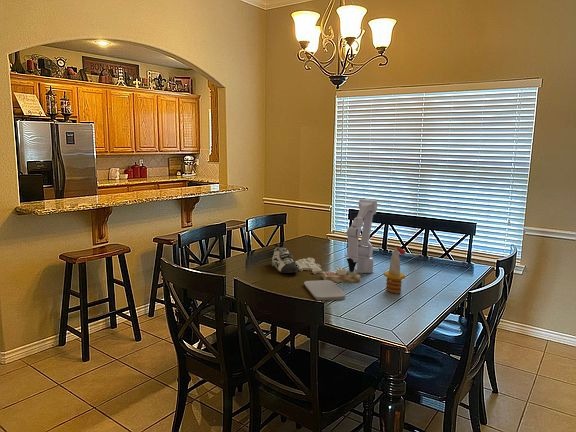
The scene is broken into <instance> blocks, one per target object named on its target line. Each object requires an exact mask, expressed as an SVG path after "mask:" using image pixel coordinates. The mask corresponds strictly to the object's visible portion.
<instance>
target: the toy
mask: <svg viewBox="0 0 576 432" xmlns="http://www.w3.org/2000/svg"><path fill="white" fill-rule="evenodd" d="M405 251H406V250H404V249H402V248H400V247H398V246H395V248H394V249H393V252H392V254H391V257H390V261H389V270H387V271H384V272H383V276H384V277H386V283H385V285H386V286H385V290H386V291H387V292H388V293H392V294H401V293H402V289H401V288H402V287H403V286H402V283H403V281H402V280H403V279H406V275H405V273H402V272H401V261H400V260H401V259H400V255H402V256H403V255H405V254H406V252H405Z"/></svg>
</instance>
